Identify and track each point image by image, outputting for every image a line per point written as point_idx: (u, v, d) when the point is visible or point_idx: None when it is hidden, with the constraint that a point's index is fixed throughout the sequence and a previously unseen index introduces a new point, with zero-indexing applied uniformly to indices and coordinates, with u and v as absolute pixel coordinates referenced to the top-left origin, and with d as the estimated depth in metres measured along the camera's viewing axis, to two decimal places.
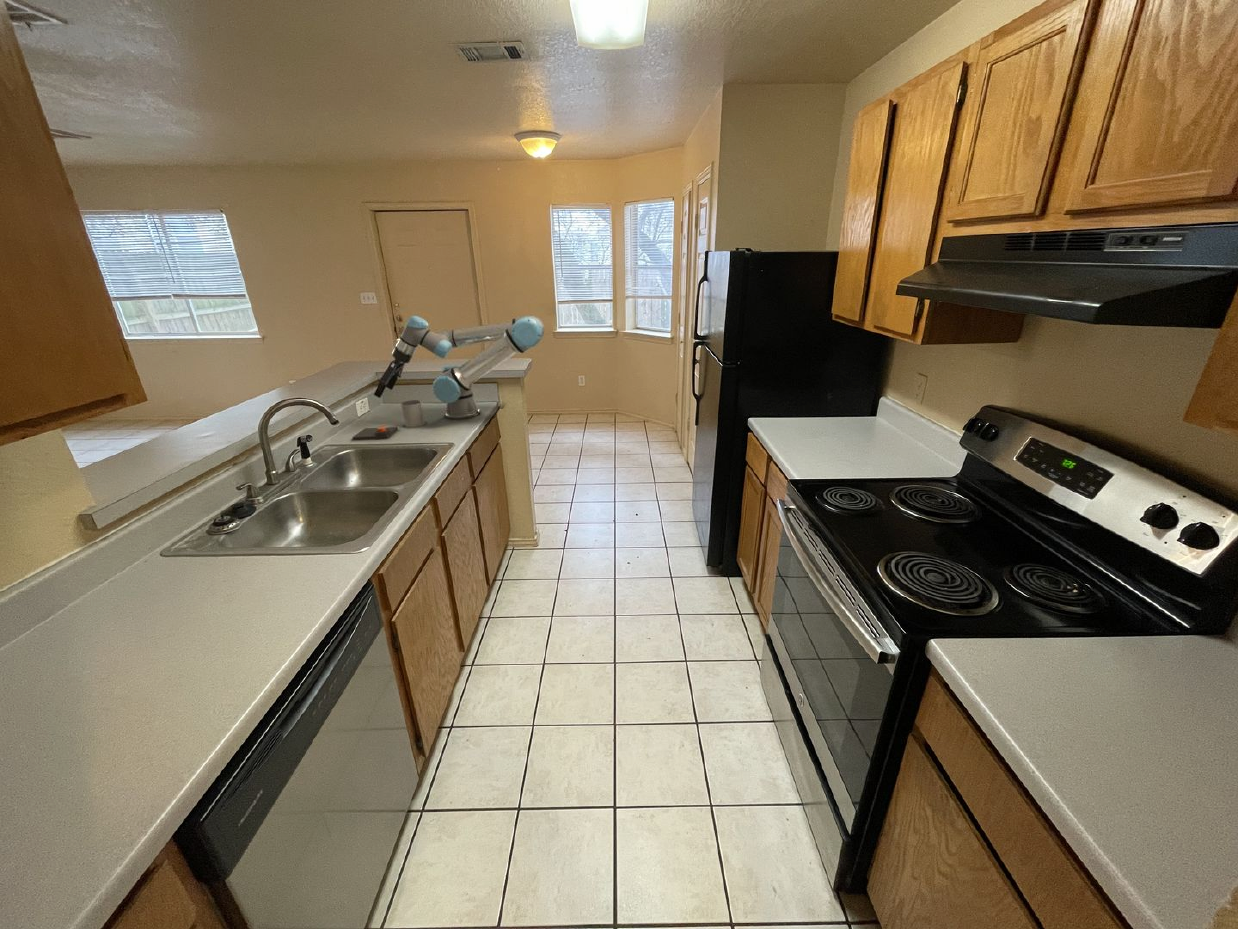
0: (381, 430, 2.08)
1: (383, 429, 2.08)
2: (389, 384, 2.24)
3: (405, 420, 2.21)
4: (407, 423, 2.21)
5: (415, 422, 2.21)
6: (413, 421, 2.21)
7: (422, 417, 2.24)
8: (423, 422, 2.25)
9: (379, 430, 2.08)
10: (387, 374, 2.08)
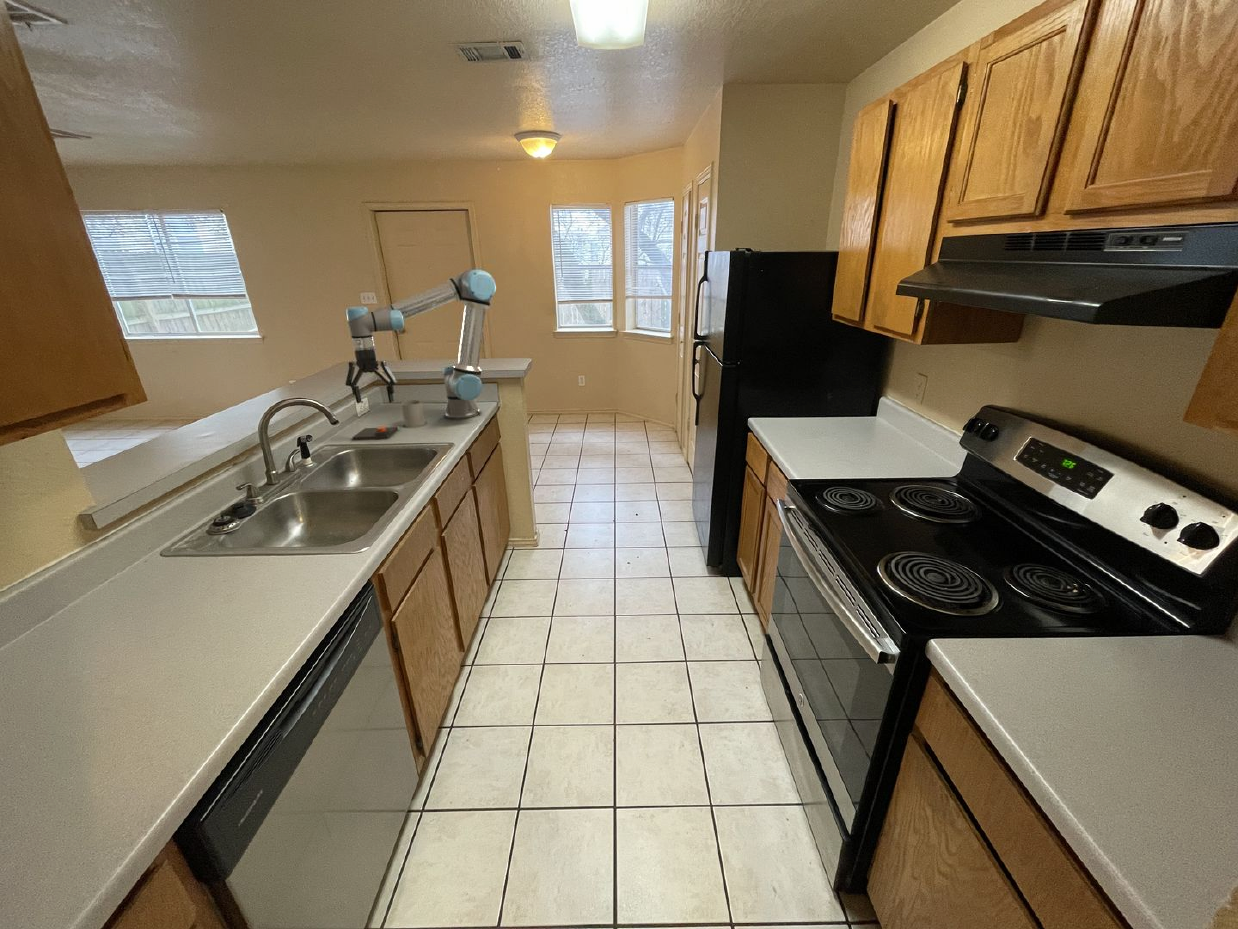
0: (381, 430, 2.08)
1: (383, 429, 2.08)
2: (358, 398, 2.04)
3: (405, 420, 2.21)
4: (407, 423, 2.21)
5: (415, 422, 2.21)
6: (413, 421, 2.21)
7: (422, 417, 2.24)
8: (423, 422, 2.25)
9: (379, 430, 2.08)
10: (390, 373, 2.01)
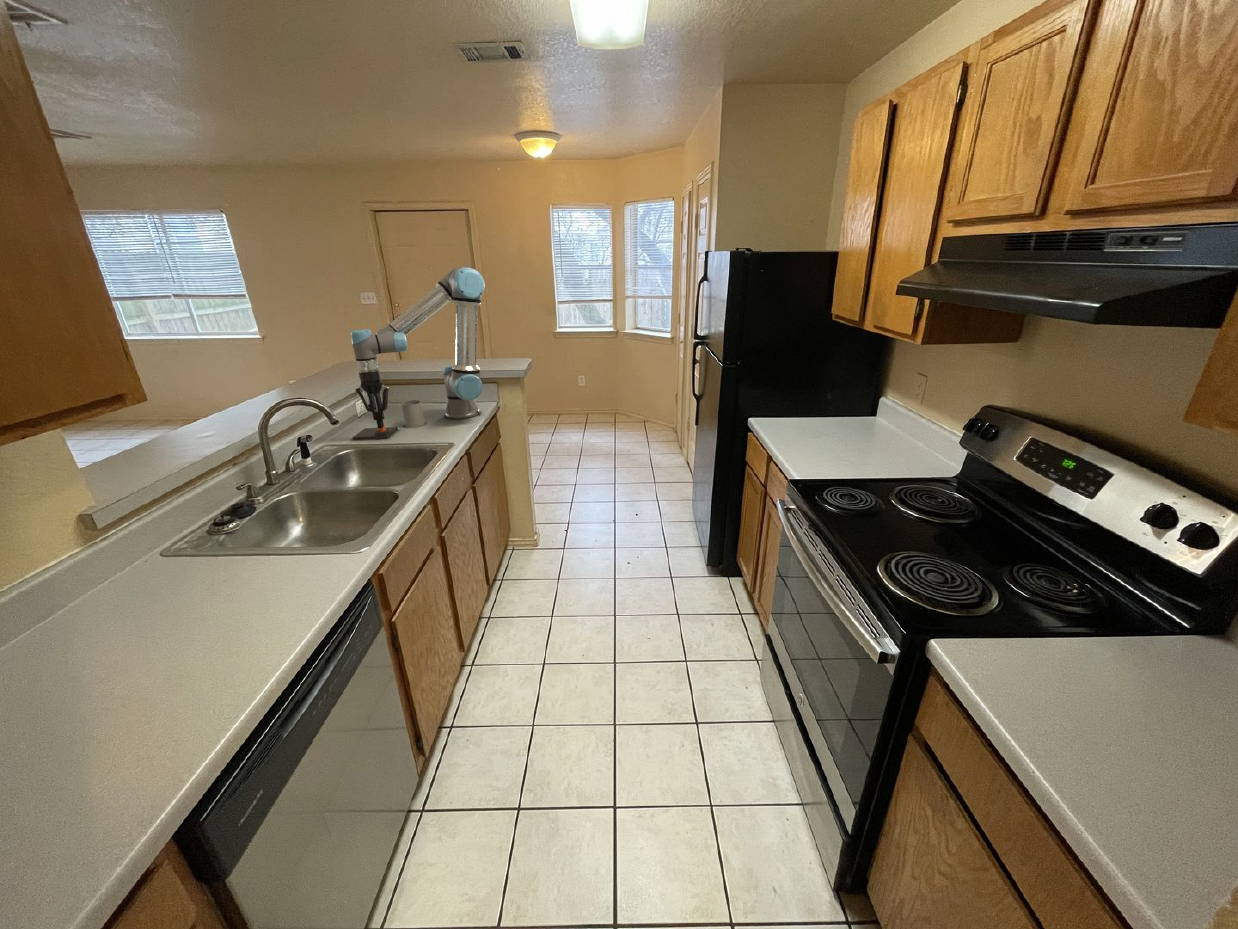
0: (381, 430, 2.08)
1: (383, 429, 2.08)
2: None
3: (405, 420, 2.21)
4: (407, 423, 2.21)
5: (415, 422, 2.21)
6: (413, 421, 2.21)
7: (422, 417, 2.24)
8: (423, 422, 2.25)
9: (379, 430, 2.08)
10: (386, 400, 2.04)
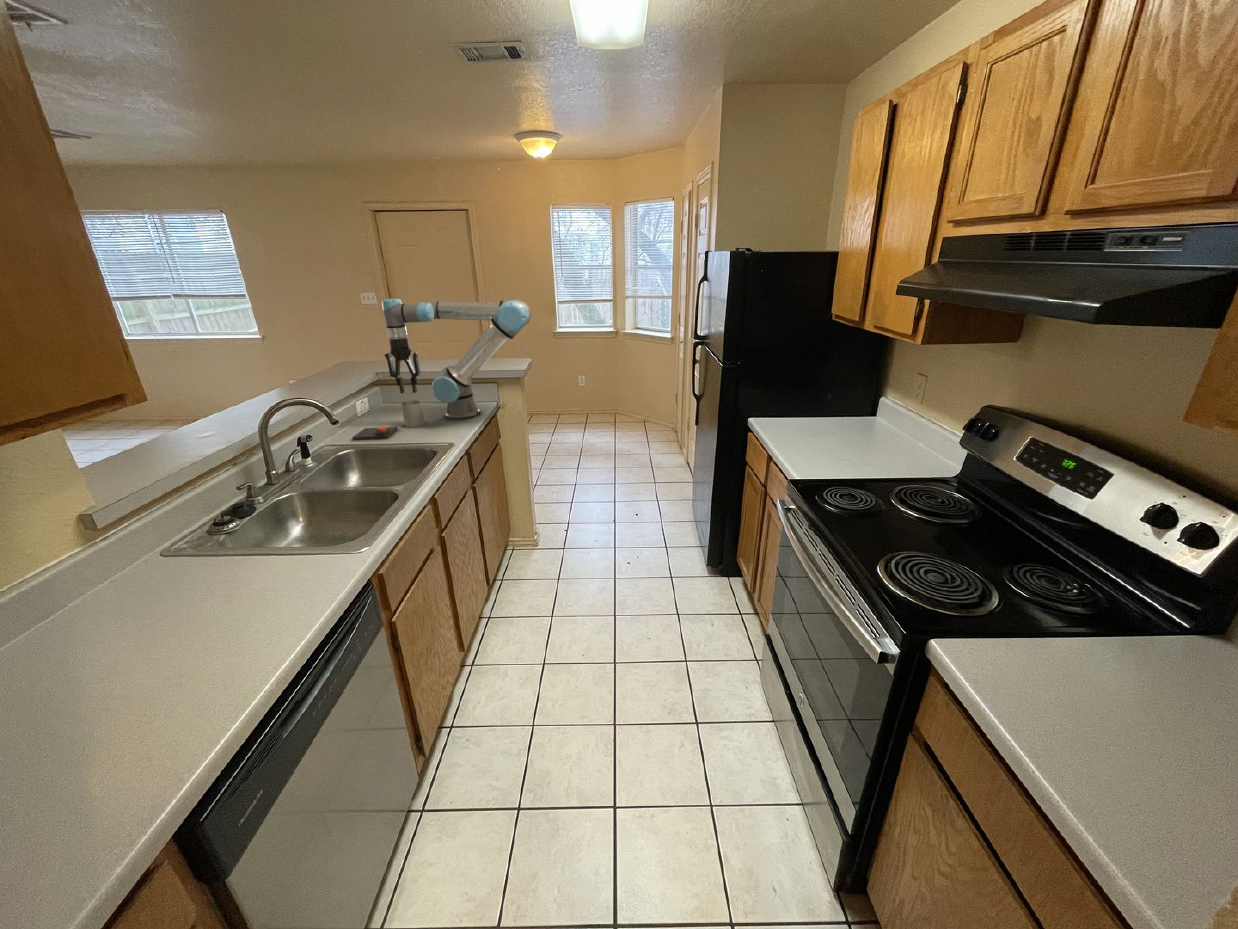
0: (381, 430, 2.08)
1: (383, 429, 2.08)
2: (402, 388, 2.19)
3: (405, 420, 2.21)
4: (407, 423, 2.21)
5: (415, 422, 2.21)
6: (413, 421, 2.21)
7: (422, 417, 2.24)
8: (423, 422, 2.25)
9: (379, 430, 2.08)
10: (418, 365, 2.16)
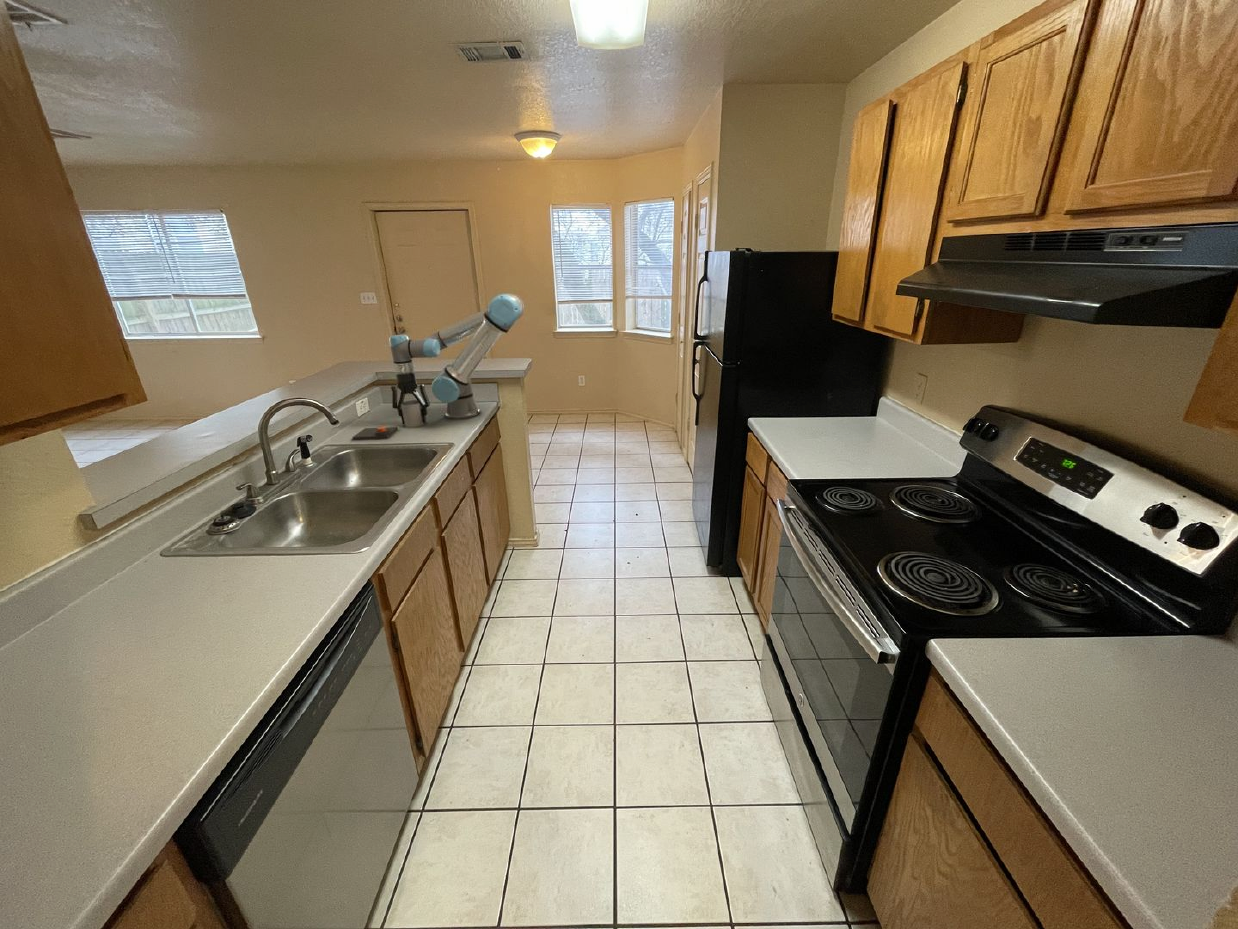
0: (381, 430, 2.08)
1: (383, 429, 2.08)
2: None
3: (405, 420, 2.21)
4: (407, 423, 2.21)
5: (415, 422, 2.21)
6: (413, 421, 2.21)
7: None
8: None
9: (379, 430, 2.08)
10: (426, 396, 2.21)
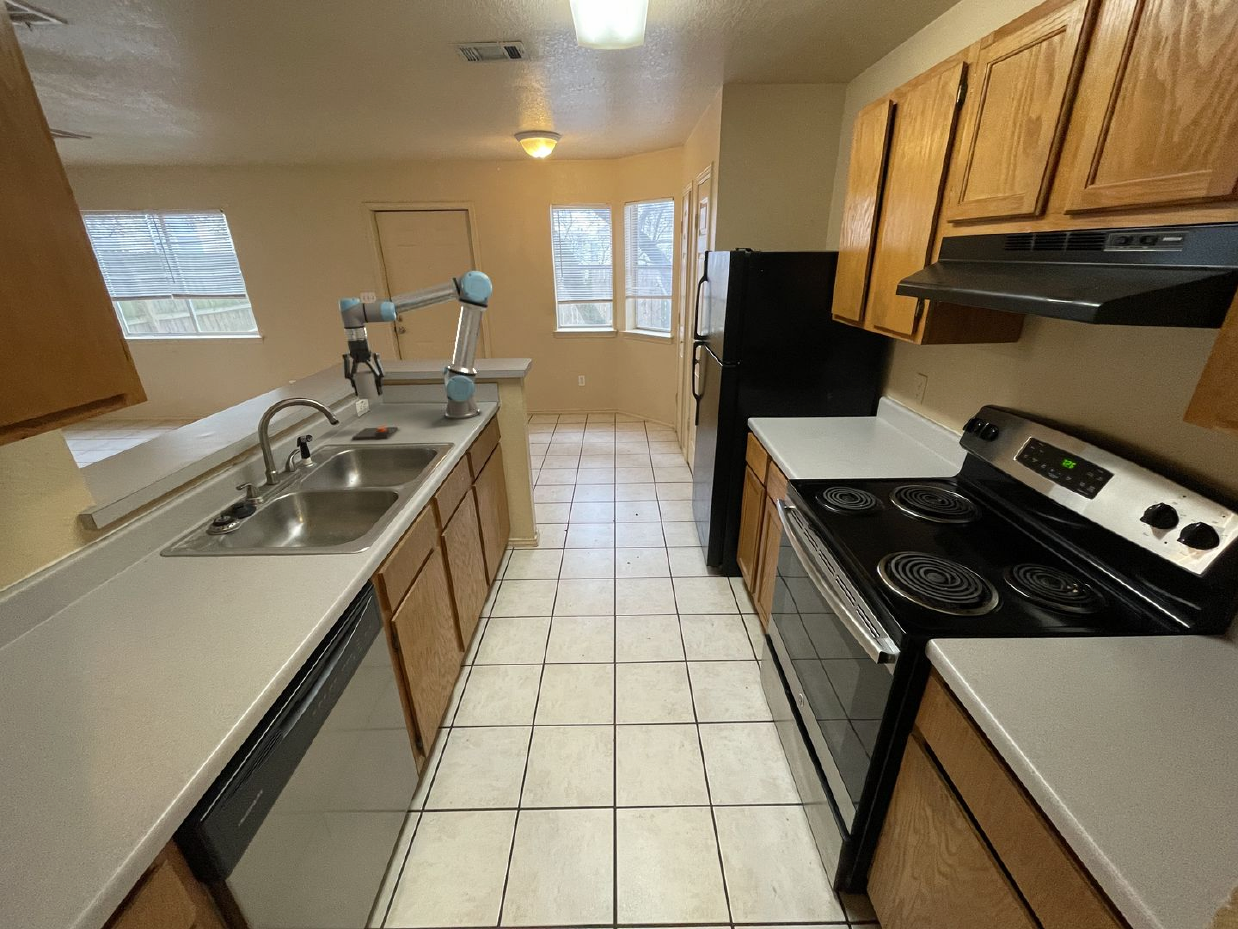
0: (381, 430, 2.08)
1: (383, 429, 2.08)
2: None
3: (358, 391, 2.05)
4: (360, 395, 2.05)
5: (369, 393, 2.05)
6: (366, 393, 2.05)
7: None
8: None
9: (379, 430, 2.08)
10: (381, 366, 2.05)
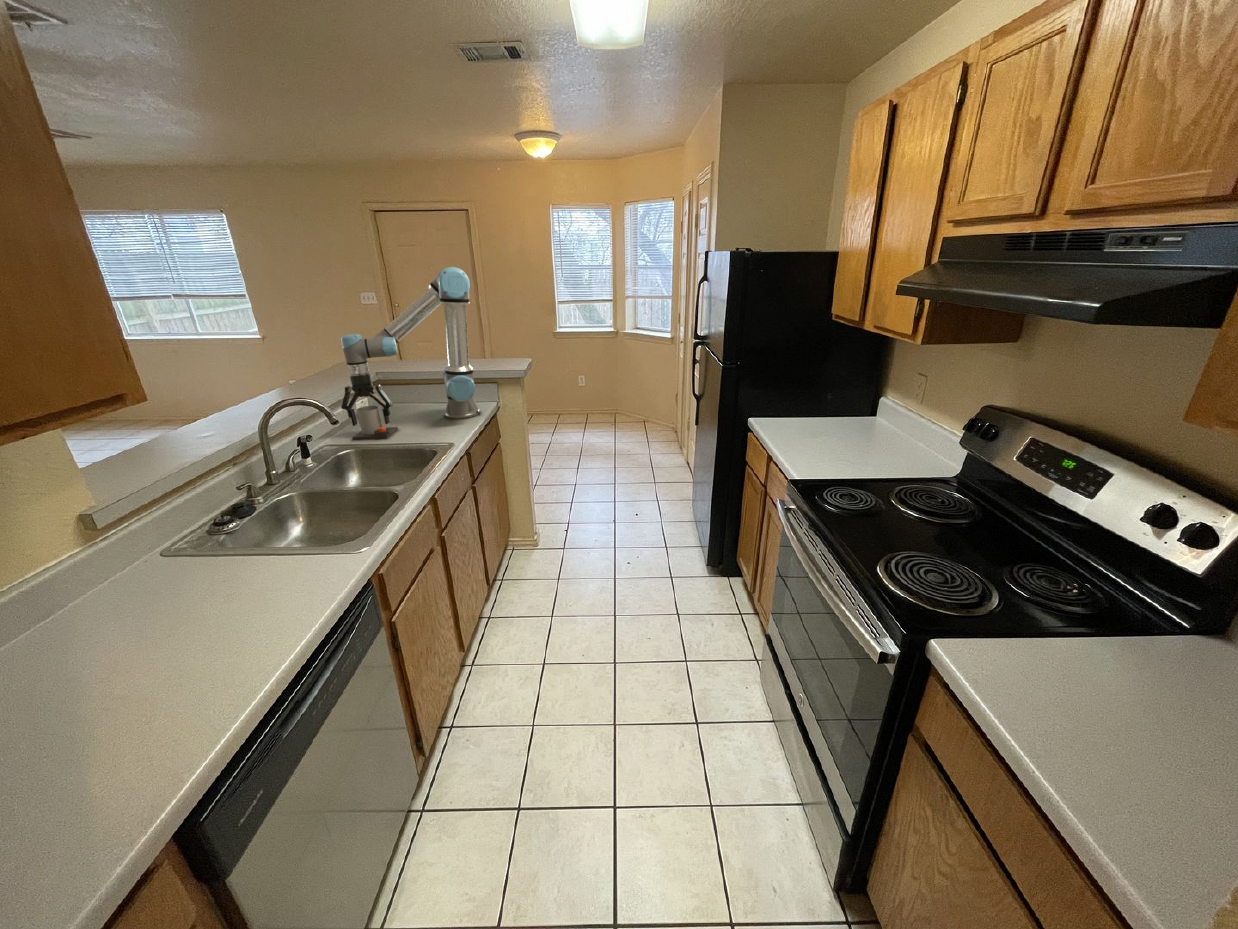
0: (381, 430, 2.08)
1: (383, 429, 2.08)
2: (354, 420, 2.11)
3: (361, 427, 2.10)
4: (363, 430, 2.10)
5: (371, 429, 2.09)
6: (369, 428, 2.09)
7: (380, 423, 2.12)
8: None
9: (379, 430, 2.08)
10: (385, 396, 2.08)
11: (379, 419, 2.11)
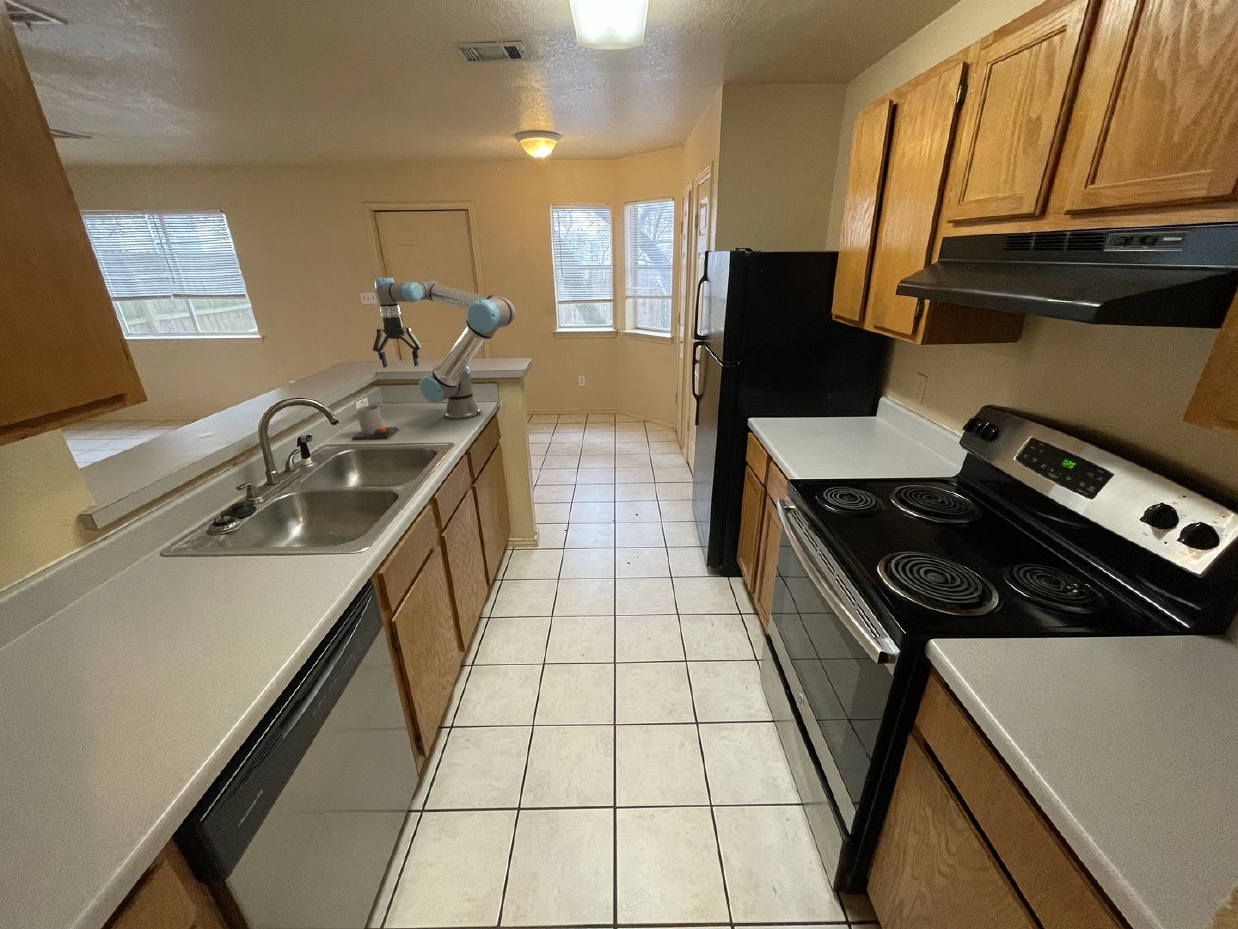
0: (381, 430, 2.08)
1: (383, 429, 2.08)
2: (385, 362, 2.21)
3: (361, 427, 2.10)
4: (363, 430, 2.10)
5: (371, 429, 2.09)
6: (369, 428, 2.09)
7: (380, 423, 2.12)
8: None
9: (379, 430, 2.08)
10: (415, 339, 2.18)
11: (379, 419, 2.11)
